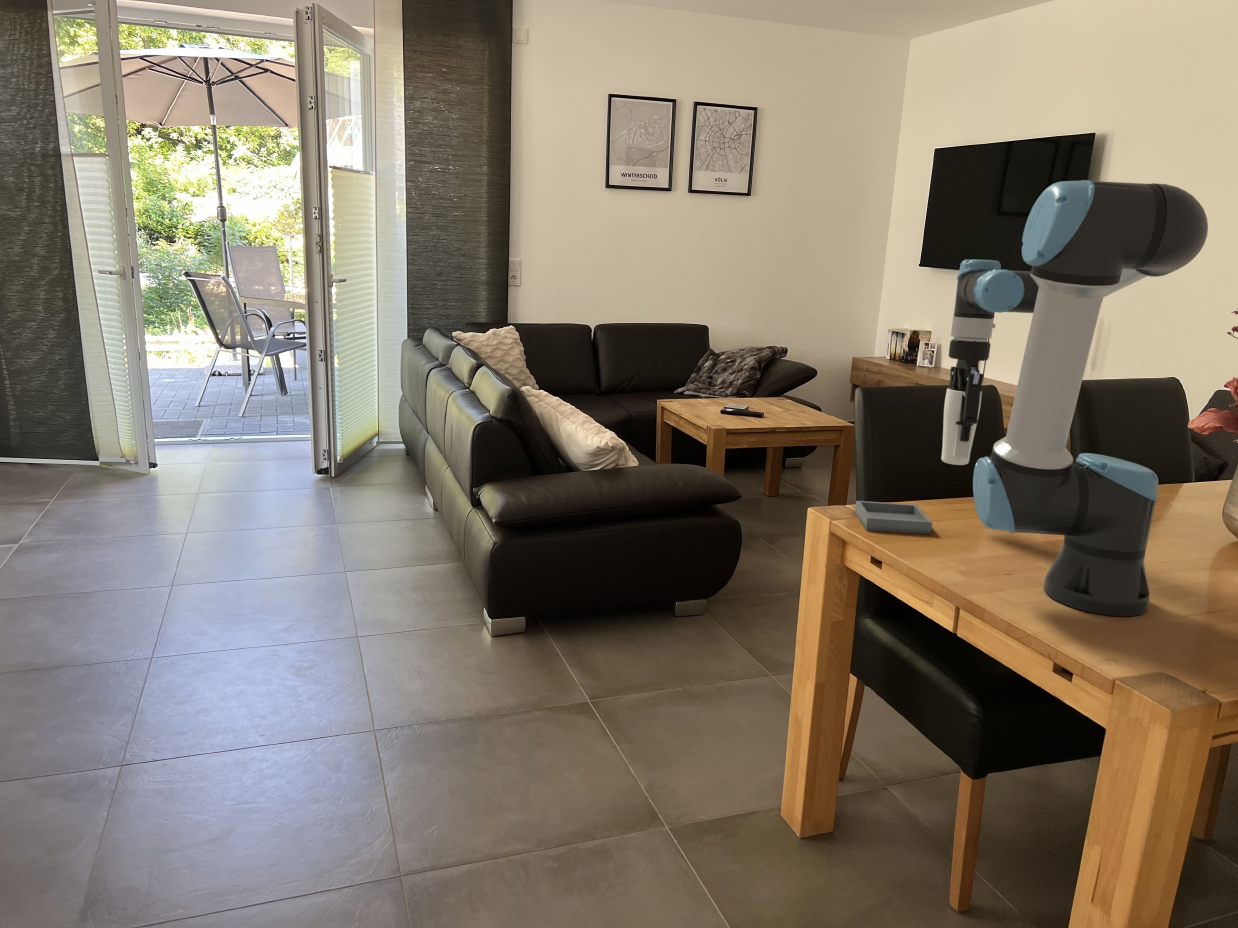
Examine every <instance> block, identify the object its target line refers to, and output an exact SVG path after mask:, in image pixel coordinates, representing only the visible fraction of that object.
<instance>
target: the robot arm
mask: <svg viewBox="0 0 1238 928" xmlns="http://www.w3.org/2000/svg"><path fill="white" fill-rule="evenodd" d="M1208 233H1209V223H1208V217H1207V214H1206V211H1205V209H1204V207H1203V206H1202V204H1201V203H1200V202H1199V201H1198V200H1197V199H1196V197H1194V195H1192V194H1191V193H1189V192H1187V190H1184V189H1182V188H1180V187H1179V186H1175V185H1171V184H1166V183H1156V182H1155V183H1153V182H1152V183H1145V182H1144V183H1143V182H1142V183H1139V182H1138V183H1137V182H1122V181H1121V182H1120V181H1101V180H1100V181H1098V180H1090V179H1087V180H1085V179H1082V180H1068V181H1067V180H1065V181H1058V182H1055V183H1052V184H1051V185H1049V186H1048V187H1047V188H1046V189H1045V190H1043V191H1042V193H1041V194H1040V195H1039V197H1038V198H1037V200H1036V201H1035V203H1034V204H1033V205H1032V208H1031V210H1030V213H1029V215H1028V216H1027V220H1026V223H1025V226H1024V229H1023V234H1022V239H1021V242H1022V246H1021V257H1022V259H1023V261H1024V262H1025V263H1026V264H1027V265H1029V266H1031V270H1030V271H1026V270H1025V271H1024V270H1009V269H1001V268H1002V265H1001V262H1000V261H999V260H991V259H964V260H962V261H961V262H960V267H959V271H958V275H957V278H956V280H957V286H956V293H955V294H956V295H955V301H954V309H953V316H952V321H951V322H952V323H951V330H950V336H951V337H953V338H952V339H951V340H950V341H949V348H948V357H949V358H950V359H953V360H956V364H955V366H951V367H950V368H949V369H950V371H949V372H950V375H949V376H950V377H949V385H948V388H954V390H955V391H962V392H966V395H965V397H964V395H963V394H962V402H961V409H960V421H957V422H956V425H957V430H956V438H955V445H954V453H953V456H954V457H967V458H968V454H969V446H970V439H971V431H972V426H973V424H976V423H977V424H978V421H977V418H978V419H979V417H978V409H979V401H980V392H982V385H983V379H984V378H985V377H984V374H983V373H980V369H979V362H981V361H982V362H984V361H985V362H986V361H988V360H989V358H990V351H991V343H990V341H988V340H990V339H991V338H992V334H993V329H995V328H996V323H994V320H995V313H1017V314H1018V313H1021V314H1032V318H1031V322H1030V326H1029V329H1028V330H1029V331H1028V334H1027V335H1028V336H1027V338H1026V339H1027V340H1026V345H1025V349H1024V354H1023V357H1022V363H1021V365H1020V366H1021V367H1020V372H1019V376H1018V381H1017V385H1016V390H1015V394H1014V398H1013V403H1012V409H1011V413H1010V416H1009V417H1010V418H1009V420H1008V426H1007V430H1006V434H1005V437H1003V438H1001V439H999V440H997V441H995V442H994V444H993V446H992V451H991V455H990V457H989V456H984V457H980V458H978V459H977V460H976V463H975V465H974V470H973V477H972V491H973V500H974V506H975V510H976V514H977V516H978V518H979V521H980V522H981V524H982V525H983V526H985V528H987V529H989V530H991V531H1002V532H1008V533H1010V534H1014V533H1023V534H1035V535H1039V534H1040V535H1051V536H1053V535H1055V536H1064V538H1063V543H1062V547H1061V549H1060V550H1059V552H1058V554H1057V556H1056V558H1055V559H1054V561H1053V562H1052V564H1051V566H1050V568H1049V569H1048V571H1047V573H1046V576H1045V577H1044V583H1043V591H1044V592H1045V593H1046V595H1047V596H1049V597H1050V598H1051V599H1052V600H1055V601H1057V602H1059V603H1060V604H1063V605H1067V606H1069V607H1072V608H1075V609H1078V610H1081V611H1085V612H1088V613H1093V614H1099V615H1105V616H1106V615H1107V616H1114V617H1133V616H1139V615H1142V614H1145V613H1146V612H1147V611H1148V609H1149V604H1150V603H1149V602H1150V600H1151V599H1150V597H1151V596H1150V590H1149V589H1150V588H1149V583H1148V579H1147V578H1148V577H1147V572H1146V567H1145V556H1146V551H1147V546H1148V541H1149V536H1150V532H1151V526H1152V523H1153V522H1152V521H1153V517H1154V512H1155V506H1156V503H1157V502H1158V491H1159V489H1158V488H1159V478H1158V475H1157V474H1156V473H1155V471H1153V470H1152V469H1150V468H1148V467H1146V466H1143V465H1141V464H1138V463H1135V462H1131V461H1130V460H1129V461H1127V460H1124V459H1121V458H1118V457H1113V456H1108V455H1104V454H1098V453H1090V452H1089V453H1088V452H1087V453H1085V452H1083V453H1080V454H1078V456H1077V458H1076V459H1075V461H1076V462H1074V457H1073V455H1072V454H1071V453H1070V451H1069V450H1068V448H1067V447H1066V446H1067V442H1068V438H1069V433H1070V430H1071V426H1072V422H1073V419H1074V414H1075V411H1076V407H1077V402H1078V399H1079V394H1080V390H1081V386H1082V382H1083V378H1084V374H1085V371H1086V366H1087V362H1088V358H1089V355H1090V351H1091V346H1092V342H1093V338H1094V334H1095V331H1096V328H1097V324H1098V320H1099V319H1098V318H1099V315H1100V311H1101V307H1102V303H1103V300H1104V298H1105V297H1108V296H1109V295H1111V294H1113V293H1116V292H1118V291H1120V290H1123V289H1124V288H1127V287H1128V286H1130V285H1132V284H1134V283H1136V282H1139V281H1141V280H1143V279H1145V278H1147V277H1151V278H1152V277H1153V278H1154V277H1155V278H1156V277H1162V276H1166V275H1170V274H1171V273H1174V272H1175V271H1178V270H1179V269H1182V268H1183V267H1185V266H1187V265H1188V264H1189V263H1191V262H1192V261H1193V260H1194V259H1195V258H1196V257H1197V256H1198V254H1199V253H1200V252H1201V251H1202V250H1203V247H1204V245H1205V243H1206V240H1207V238H1208Z"/></svg>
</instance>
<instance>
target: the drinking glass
mask: <svg viewBox="0 0 1238 928" xmlns="http://www.w3.org/2000/svg"><path fill="white" fill-rule="evenodd" d="M982 393H983V391H981V392H980V401H979V409H978V418H977V423H976V424H973V426H972V431H971V439H970V446H969V454H968V458H967V457H954V456H953V453H954V445H955V438H956V430H957V425H956V422H957V421H960V409H961V402H962V394H963V395H964V397H965V395H966V392H962V391H955V390H954V388H949V387H948V388H946V393H945V398H944V406H943V422H942V423H943V426H942V427H943V428H942V445H941V446H942V448H941V449H942V450H941V457H940V458H941V461H942V462H944V463H945V464H949V465H956V466H957V465H958V466H964V465H968V464H969V462H970V459H971V458H970V457H971V451H972V447H973V442H974V437H975V434H976V428H977V425H978V420H979V415H980V412H981V411H980V410H981V405H982V396H983V395H982Z"/></svg>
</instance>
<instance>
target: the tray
mask: <svg viewBox="0 0 1238 928" xmlns="http://www.w3.org/2000/svg"><path fill="white" fill-rule="evenodd" d="M855 511H856V513H857V515H858V516H857V515H856V516H857V518H858V517H859V518H858V519H860V520H859V521H860V523H861V525H862V526H863V528H864V530H865V531H874V532H876V531H877V532H887V533H888V532H889V533H902V534H920V535H932V534H931V533H932V527H933V521H932V520H931V519H930V518H929V517H928V516H927V515H926V513H925V512H923V510H922V509H921V508H920V506H919V505H917V504H913V503H912V504H911V503H910V504H909V503H897V502H896V503H895V502H879V501H865V500H863V501H862V500H856V501H855V508H854V512H855ZM856 513H855V514H856Z"/></svg>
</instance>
